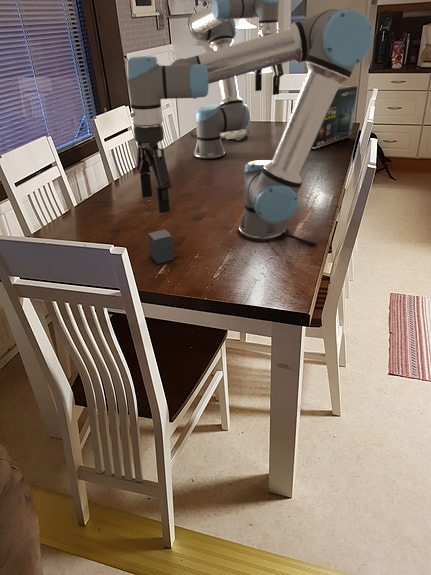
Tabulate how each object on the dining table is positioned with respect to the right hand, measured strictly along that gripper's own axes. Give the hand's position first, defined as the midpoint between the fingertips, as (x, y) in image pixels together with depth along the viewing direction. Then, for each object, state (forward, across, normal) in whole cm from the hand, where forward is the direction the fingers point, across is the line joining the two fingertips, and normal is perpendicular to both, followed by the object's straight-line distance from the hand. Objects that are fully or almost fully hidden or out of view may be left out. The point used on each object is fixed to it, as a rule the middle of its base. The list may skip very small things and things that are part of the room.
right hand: (155, 204), depth 128 cm
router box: (+16, -80, +125) cm, 149 cm away
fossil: (+17, -119, +90) cm, 150 cm away
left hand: (-16, -60, +74) cm, 96 cm away
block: (+17, 0, 0) cm, 17 cm away
